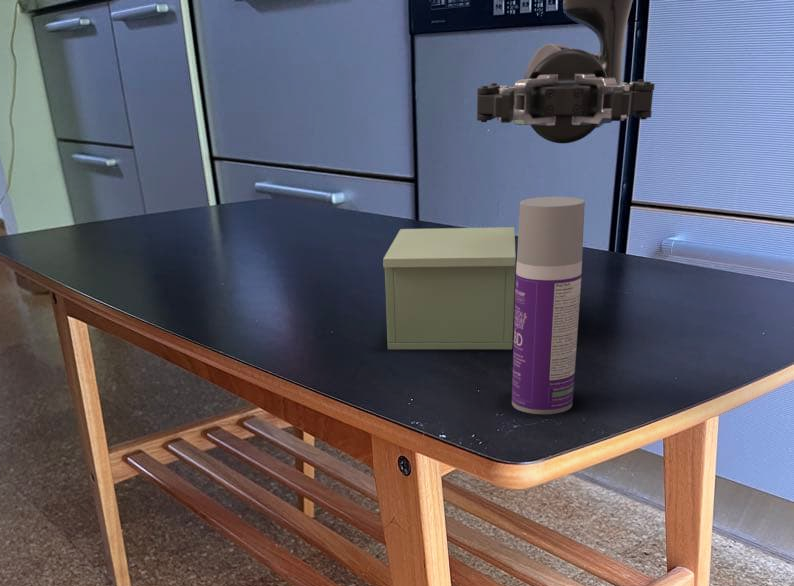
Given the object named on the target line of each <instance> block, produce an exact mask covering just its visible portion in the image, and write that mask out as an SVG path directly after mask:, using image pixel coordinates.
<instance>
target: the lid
mask: <svg viewBox="0 0 794 586" xmlns="http://www.w3.org/2000/svg"><path fill="white" fill-rule="evenodd" d="M515 231H516V230H515V227H514V226H509V227H508V226H506V227H505V226H504V227H503V226H502V227H500V226H499V227H448V228H447V227H445V228H443V227H442V228H440V227H439V228H400V229H399V231H398V232H397V234H396V236H395V238H394V239H393V241H392V242H391V245H390V246H389V248H388V250H387V252H386V253H385V255H384V256H383V260H382V266H383V268H384V269H385V268H405V267H491V266H515V267H516V263H517V252H516V234H515Z"/></svg>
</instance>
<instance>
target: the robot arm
mask: <svg viewBox="0 0 794 586" xmlns="http://www.w3.org/2000/svg"><path fill="white" fill-rule="evenodd" d="M633 1H634V0H563V2H562V10H563V12H564V14H565V16H567V17H568V18H569V19H571V20H572V21H573V22H576V23H577V24H580V25H582V26H584V27H585V28H587V29H589V30H590V31H592V33H594V34H595V35H596V38H597V39H598V42H599V53H598V54H597V53H592V52H589V51H586V50H583V49H579V48H573V47H569V46H566V45H562V44H557V43H545V44H543V45H542V46H540V47H539V48H538V49H537V51H536V52H534V54H533V55H532V57H531V59H530V60H529V63H528V65H527V67H526V71H525V74H524V78H522V79H517V80H516V81H515V82H514V85H513V86H509V85H501V84H498V83H496V82H495V83H494V82H493V83H490V84H488V85H481V86H480V87H477V89H476V90H477V92H476V93H477V94H476V95H477V96H476V97H477V99H476V100H477V101H476V121H479V122H481V123H488V121H492V120H494V119H496V118H497V120H496V121H497V122H498V121H499V122H500V123H501V124H509V123H510V124H511V123H512V122H513V123H514V124H515V125H518V126H530V127H531V128H532V130H533V131H534V132H535V133H536V134H537V135H538V136H539V137H541V138H542V139H544V140H546V141H548V142H551V143H554V144H570V143H575V142H577V141H580V140H582V139H584V138H586V137H587V136H589V135H590V134H591V133H592V132H593V131H595V129H598V128H601V127H602V126H604V125H605V124H611V123H612V122H621V121H622V122H623V121H625V120H626V119H629V118H630V115H632V116H633V117H635V118H637V119H639V120H643V121H644V120H647V119H648V118H652V114H653V113H652V112H653V111H652V107H653V97H654V91H655V85H656V84H655V83H653V82H651V81H647V80H646V81H645V79H637V81H631V82H629V83H628V82H622V77H623V57H624V45H625V38H626V31H627V25H628V20H629V16H630V12H631V9H632V4H633Z"/></svg>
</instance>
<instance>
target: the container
mask: <svg viewBox="0 0 794 586" xmlns="http://www.w3.org/2000/svg"><path fill="white" fill-rule="evenodd" d="M585 202H586V201H585V200H584V199H582V198H578V197H571V196H539V197H530V198H526V199H522V200H521V201H520V202H519V214H518V215H519V218H518V233H517V249H516V250H517V251H516V264H515V288H514V318H513V348H512V350H513V351H512V352H513V353H512V358H513V359H512V381H511V383H512V384H511V385H512V386H511V405H512V407H513V408H514V409H516V410H517V411H520V412H522V413H526V414H533V415H554V414H555V415H556V414H560V413H564V412H566V411H568V410H570V409H571V408H572V407H573V401H574V390H575V375H576V374H575V373H576V360H577V344H578V334H579V333H578V332H579V331H578V330H579V318H580V304H581V303H580V302H581V289H582V275H583V274H582V273H583V254H584V253H583V252H584V251H583V249H584V229H585V228H584V226H585V207H586V205H585V204H586V203H585Z"/></svg>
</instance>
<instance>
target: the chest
mask: <svg viewBox="0 0 794 586" xmlns="http://www.w3.org/2000/svg"><path fill="white" fill-rule="evenodd" d="M384 285H385V287H384V288H385V311H386V312H385V313H386V339H387V350H513V348H514V318H515V287H516V265H515V266H491V267H405V268H384Z"/></svg>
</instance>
